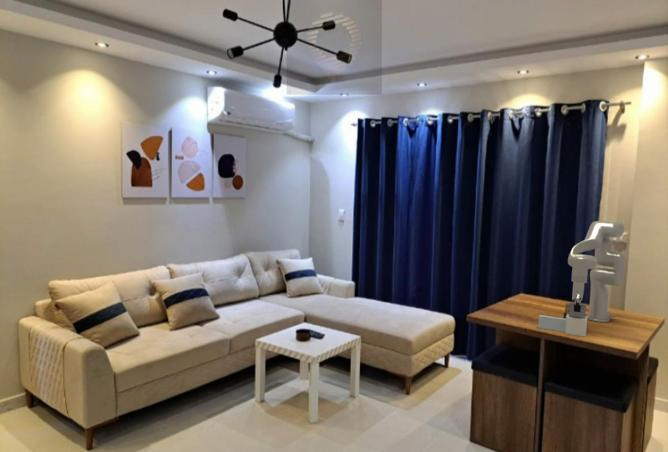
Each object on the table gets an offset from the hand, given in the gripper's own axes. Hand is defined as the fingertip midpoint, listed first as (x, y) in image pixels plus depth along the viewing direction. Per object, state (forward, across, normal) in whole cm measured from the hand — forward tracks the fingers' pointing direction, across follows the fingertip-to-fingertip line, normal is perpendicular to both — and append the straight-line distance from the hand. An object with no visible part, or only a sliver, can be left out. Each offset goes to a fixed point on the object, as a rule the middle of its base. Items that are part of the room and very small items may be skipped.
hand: (577, 309), depth 263 cm
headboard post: (+13, 0, -7) cm, 15 cm away
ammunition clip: (+13, -20, -3) cm, 24 cm away
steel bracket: (+8, 0, 0) cm, 8 cm away
